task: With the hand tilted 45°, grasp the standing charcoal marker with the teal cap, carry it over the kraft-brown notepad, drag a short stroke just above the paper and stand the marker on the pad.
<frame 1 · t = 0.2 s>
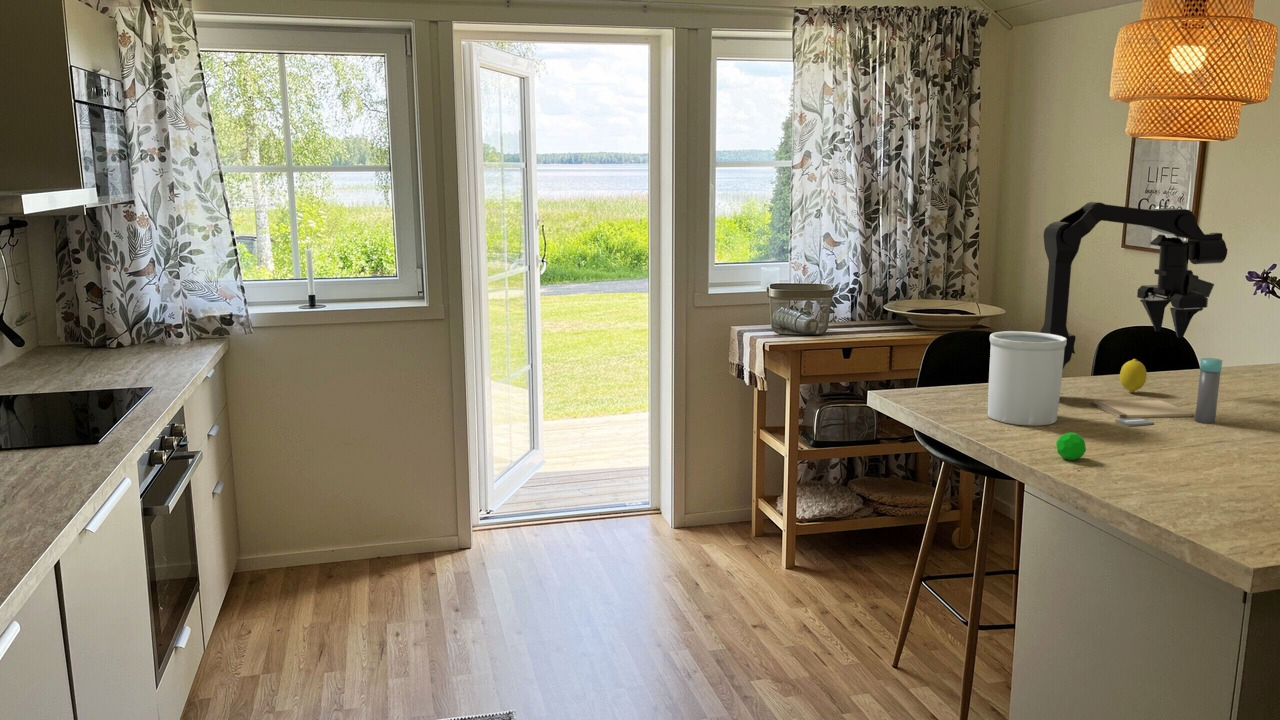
hand: (1168, 334, 220), 14 cm above the countertop, tool pointing down, fingers open, 9 cm apart
polyhedron: (1069, 460, 177), on the countertop
marker: (1204, 421, 201), on the countertop
word tile: (1134, 422, 201), on the countertop
lemon: (1131, 393, 227), on the countertop
notepad: (1140, 410, 211), on the countertop
utensil holder: (1021, 418, 206), on the countertop
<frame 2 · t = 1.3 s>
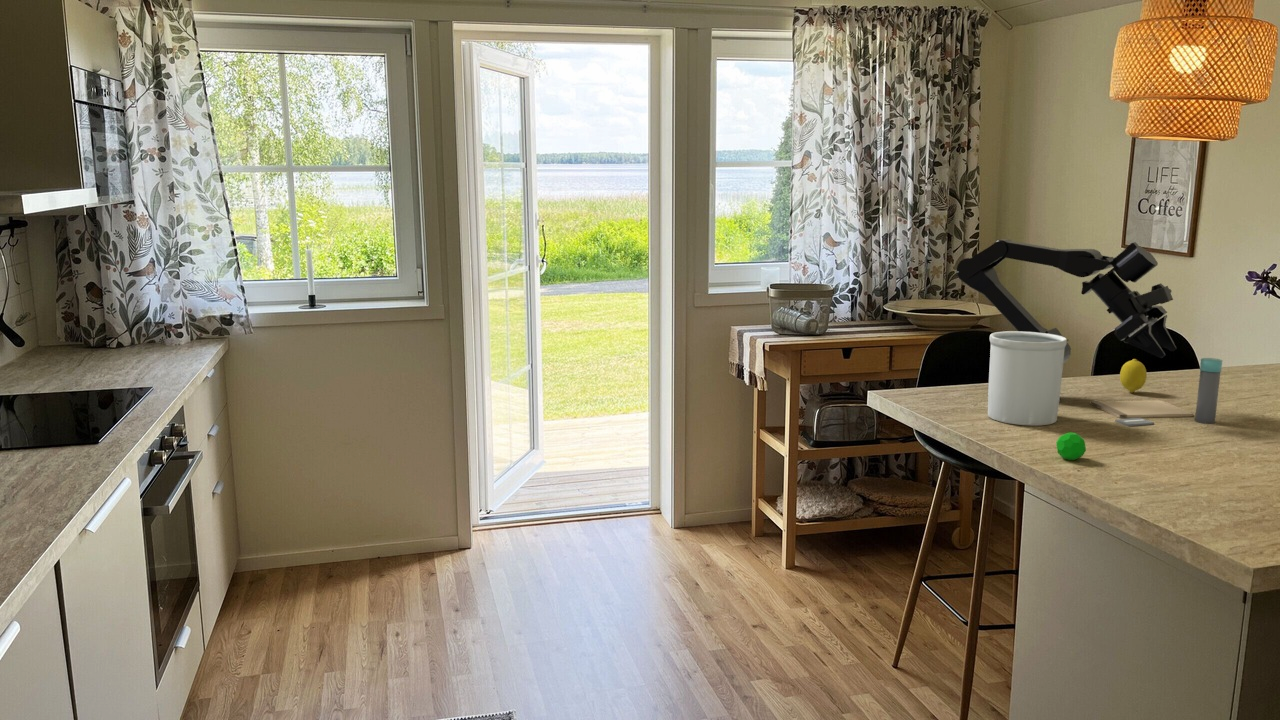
hand: (1169, 353, 204), 13 cm above the countertop, tool tilted 45°, fingers open, 9 cm apart
nothing on the countertop moved.
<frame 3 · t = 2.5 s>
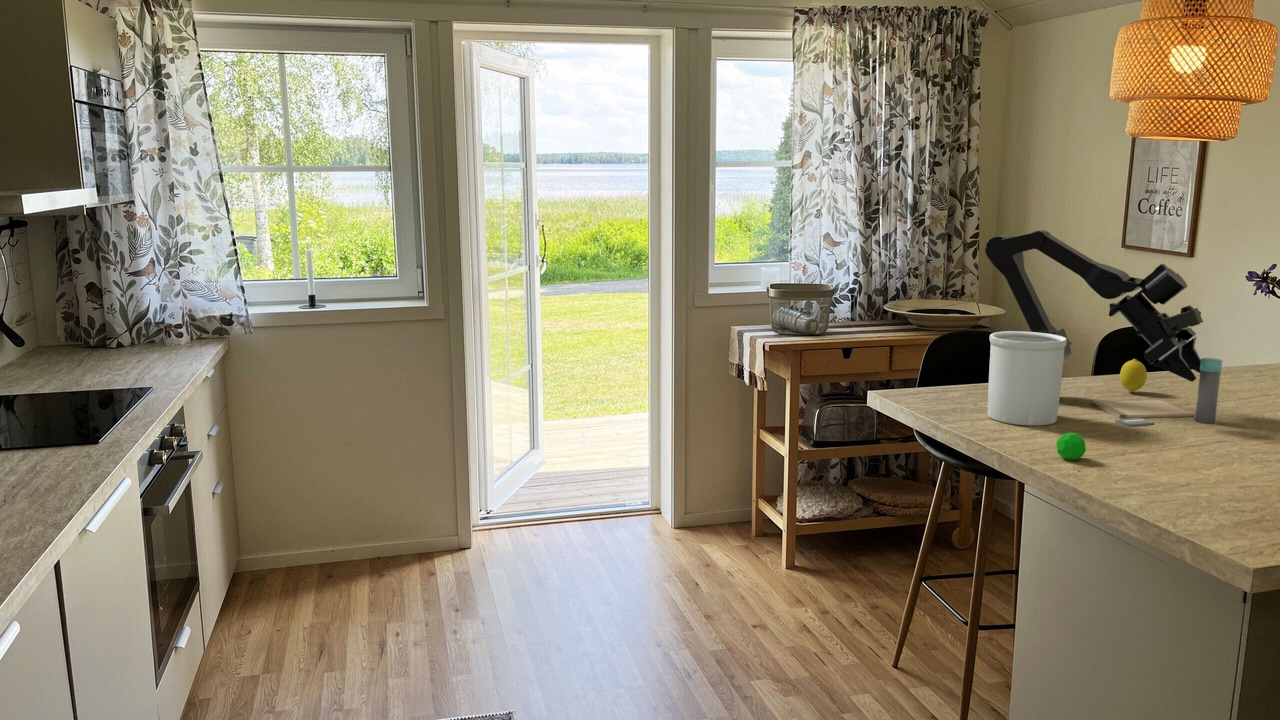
hand: (1199, 376, 201), 9 cm above the countertop, tool tilted 45°, fingers open, 9 cm apart
nothing on the countertop moved.
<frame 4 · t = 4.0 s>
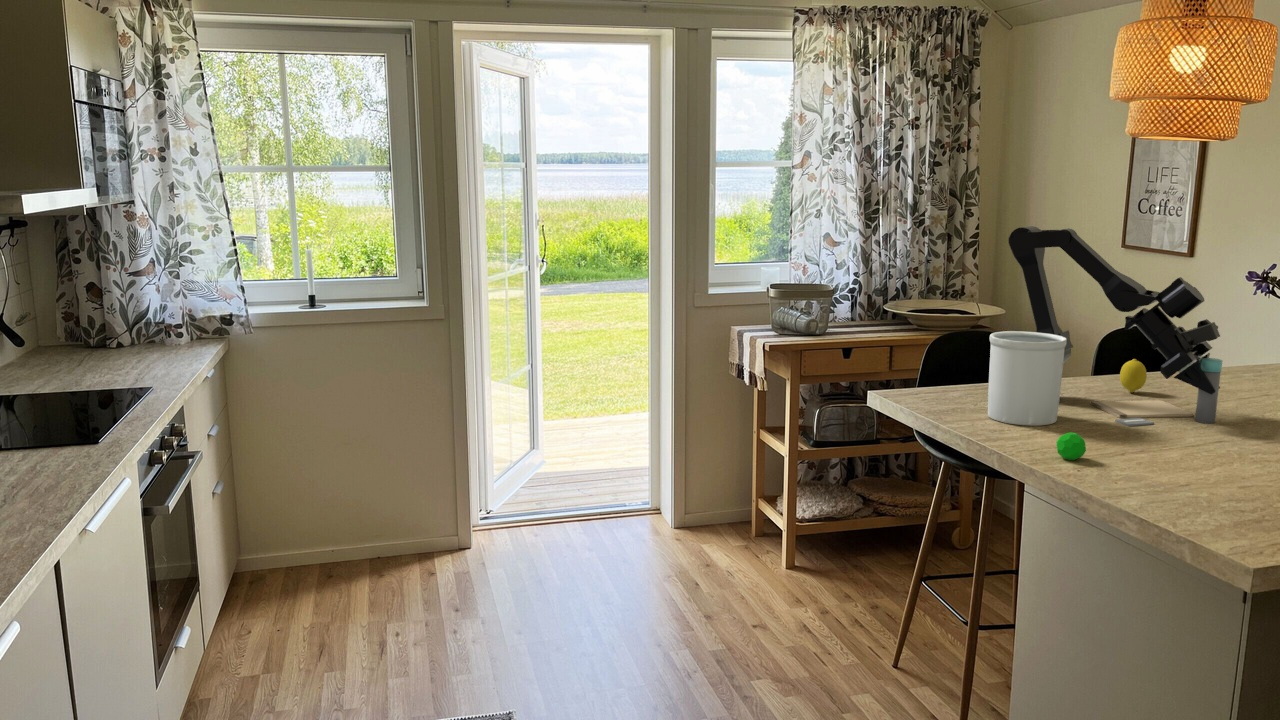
hand: (1216, 391, 199), 7 cm above the countertop, tool tilted 45°, fingers closed on marker, 4 cm apart
marker: (1204, 421, 201), on the countertop, touching gripper
everything else where it was.
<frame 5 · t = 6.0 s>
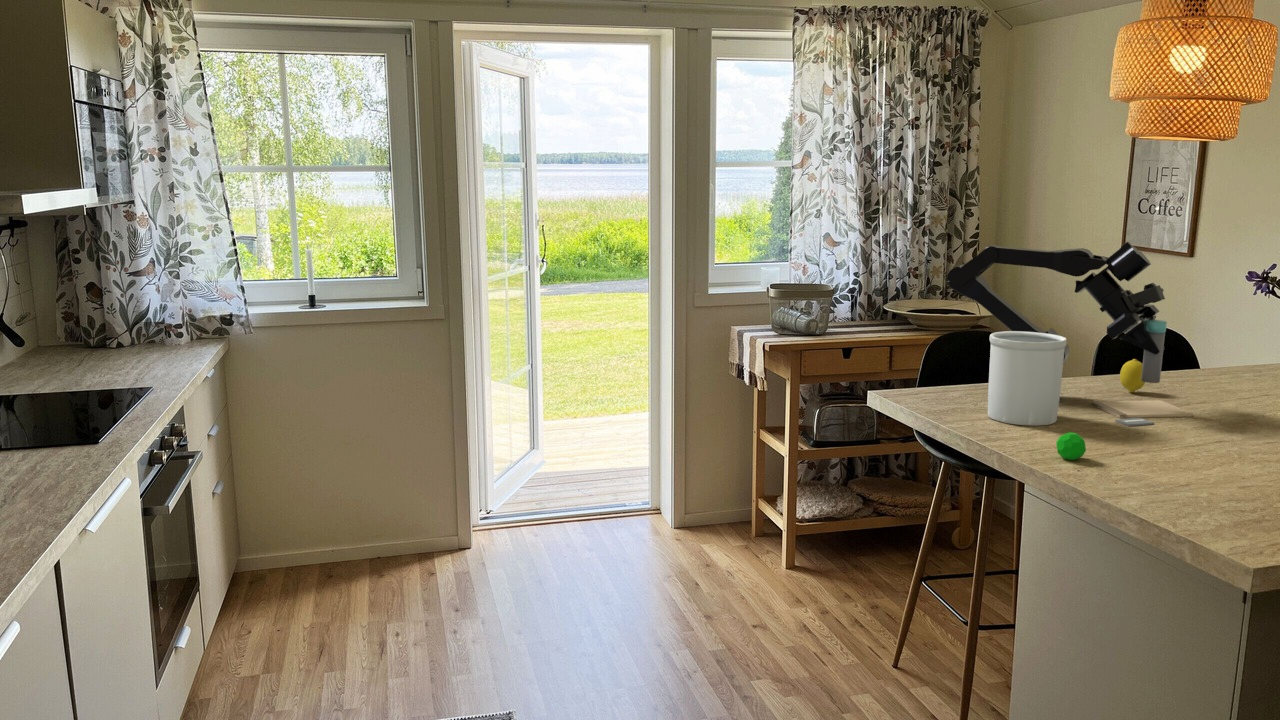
hand: (1160, 351, 206), 13 cm above the countertop, tool tilted 45°, fingers closed on marker, 4 cm apart
marker: (1150, 381, 209), point 7 cm above the countertop, touching gripper
everything else where it was.
when the fingers open (8 cm above the countertop, at t = 8.3 s): marker stays where it is, resting on notepad.
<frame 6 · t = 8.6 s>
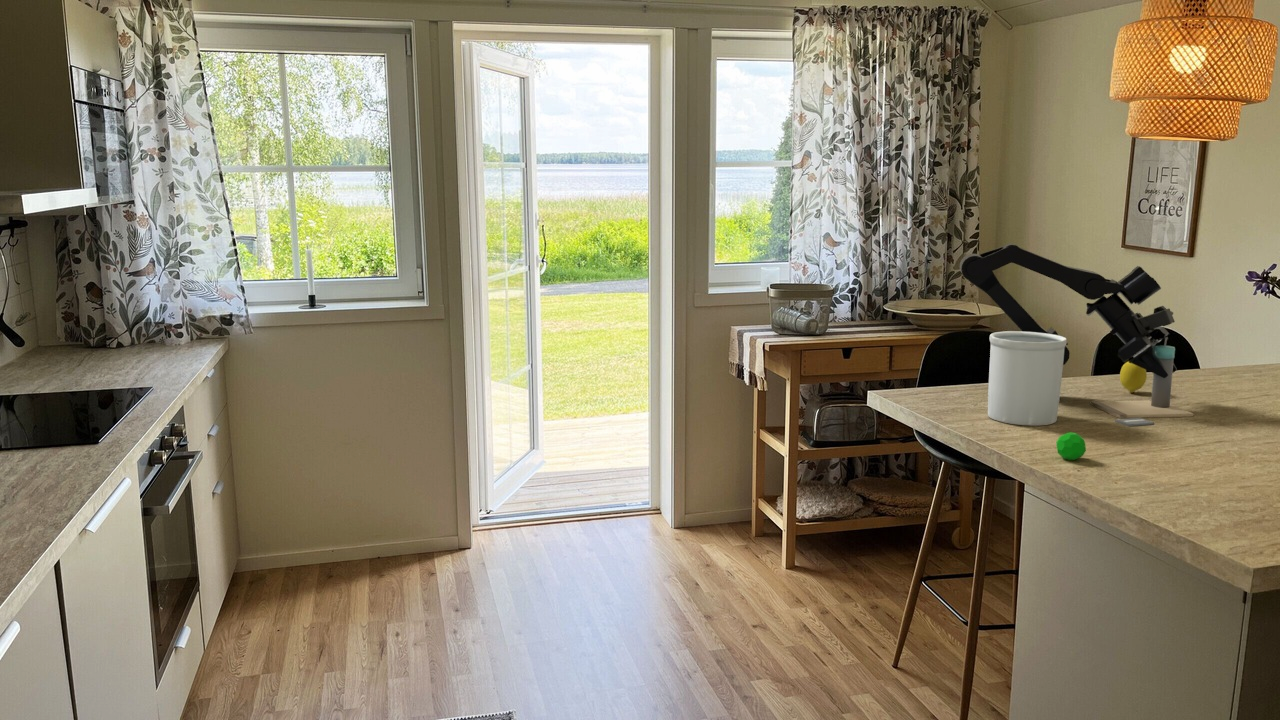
hand: (1170, 374, 210), 8 cm above the countertop, tool tilted 45°, fingers open, 7 cm apart
marker: (1160, 405, 212), point 1 cm above the countertop, touching notepad
everything else where it was.
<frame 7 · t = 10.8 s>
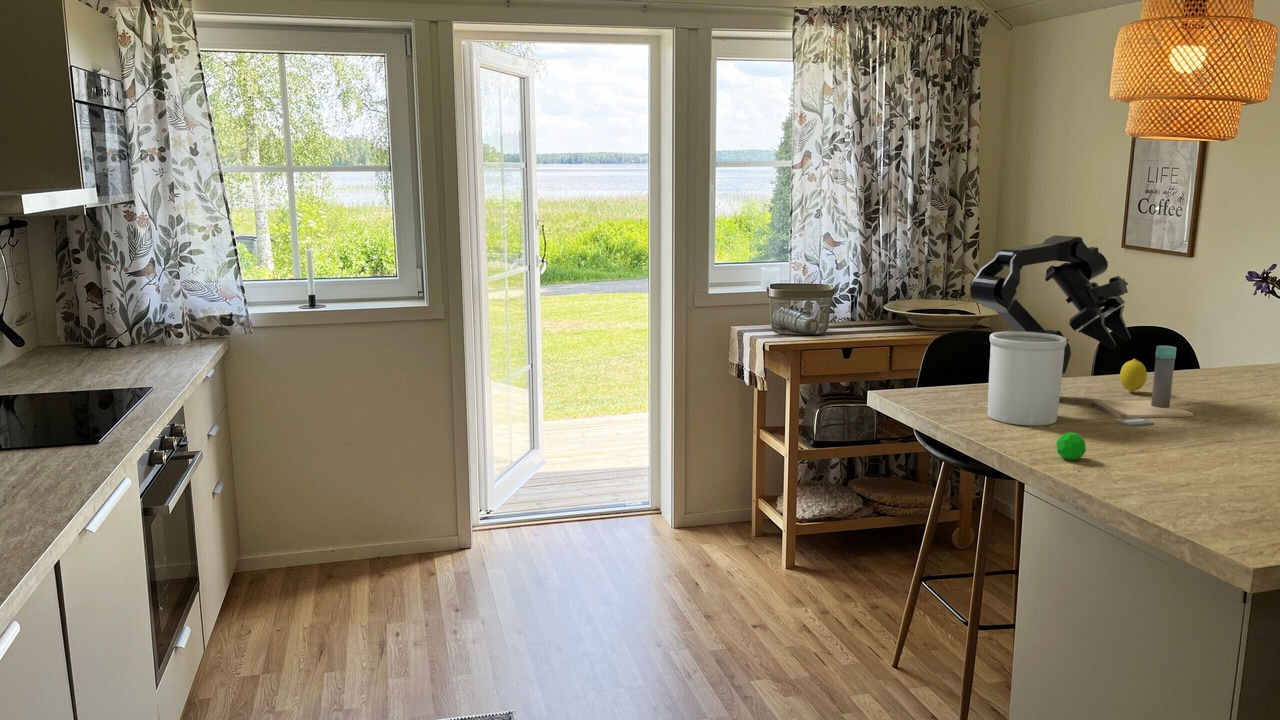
hand: (1121, 343, 216), 13 cm above the countertop, tool tilted 40°, fingers open, 9 cm apart
nothing on the countertop moved.
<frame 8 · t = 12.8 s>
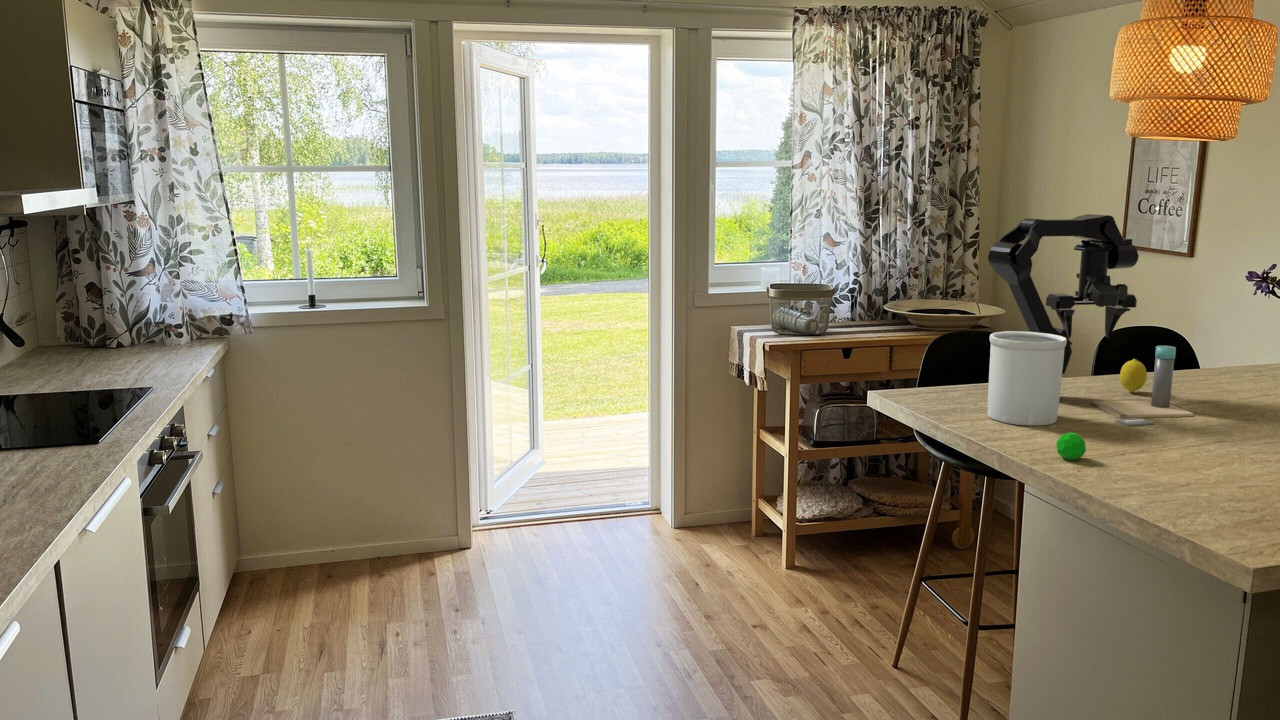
hand: (1088, 337, 225), 13 cm above the countertop, tool pointing down, fingers open, 9 cm apart
nothing on the countertop moved.
at the end: marker inside the target area on the notepad (5.0 cm from its centre), point 0.6 cm above the notepad's base; marker tilted 1°; the gripper is holding nothing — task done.
